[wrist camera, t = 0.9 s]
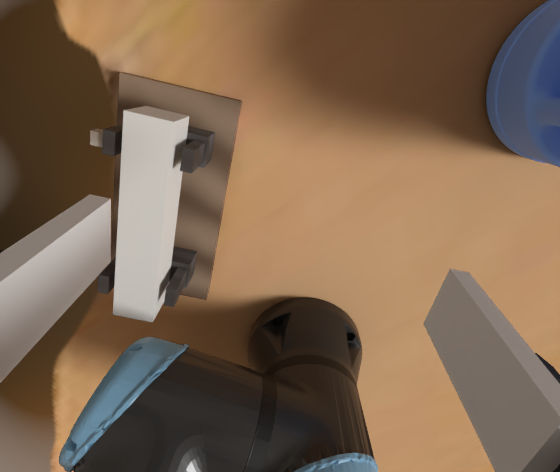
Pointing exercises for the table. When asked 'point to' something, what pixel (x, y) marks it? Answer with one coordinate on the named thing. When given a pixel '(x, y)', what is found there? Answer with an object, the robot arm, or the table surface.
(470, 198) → the table surface
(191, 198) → the cable cradle
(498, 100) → the water jug
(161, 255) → the white slab
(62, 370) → the table surface
